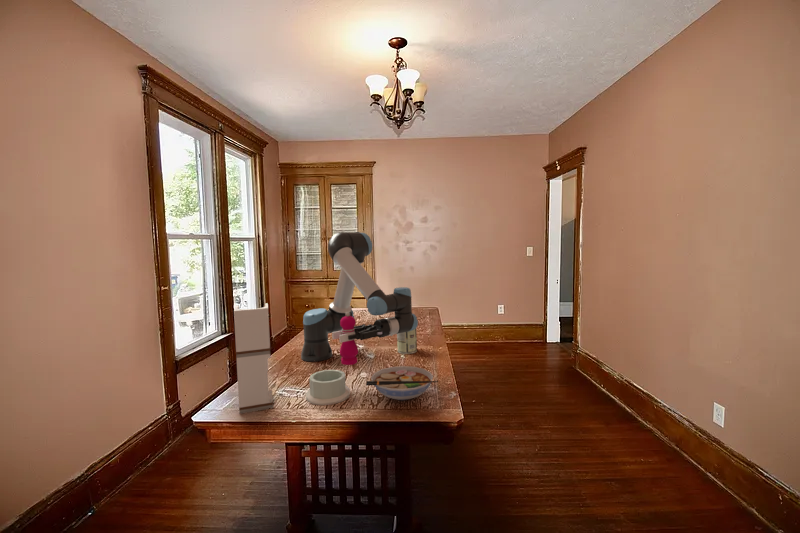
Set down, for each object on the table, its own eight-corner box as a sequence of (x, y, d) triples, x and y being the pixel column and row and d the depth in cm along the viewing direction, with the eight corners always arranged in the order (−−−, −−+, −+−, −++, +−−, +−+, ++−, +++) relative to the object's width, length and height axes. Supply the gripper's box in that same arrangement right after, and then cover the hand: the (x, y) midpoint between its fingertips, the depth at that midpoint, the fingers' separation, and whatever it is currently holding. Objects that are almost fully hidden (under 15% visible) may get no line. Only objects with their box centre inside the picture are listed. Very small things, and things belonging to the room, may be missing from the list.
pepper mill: (355, 366, 138) (353, 314, 137) (337, 365, 140) (335, 313, 138) (360, 359, 145) (359, 310, 144) (343, 359, 147) (341, 310, 145)
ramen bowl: (433, 383, 145) (433, 363, 144) (440, 409, 122) (439, 386, 122) (371, 384, 145) (370, 364, 144) (365, 411, 122) (365, 387, 122)
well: (299, 394, 137) (298, 374, 137) (337, 383, 147) (337, 365, 146) (317, 409, 124) (316, 388, 124) (357, 396, 134) (357, 376, 133)
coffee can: (403, 347, 195) (403, 321, 194) (420, 349, 190) (420, 323, 189) (393, 352, 187) (392, 325, 186) (410, 355, 181) (410, 327, 180)
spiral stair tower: (272, 408, 126) (268, 308, 124) (239, 413, 123) (233, 311, 120) (272, 395, 137) (267, 303, 135) (241, 400, 133) (236, 305, 131)
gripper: (399, 340, 146) (348, 352, 132) (373, 332, 160) (325, 342, 146) (398, 321, 145) (347, 332, 131) (373, 315, 160) (324, 323, 145)
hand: (336, 337), depth 138 cm, fingers closed on pepper mill, 5 cm apart
